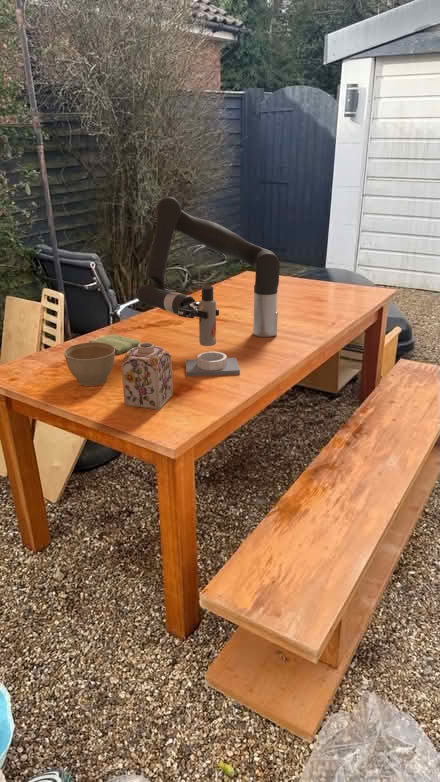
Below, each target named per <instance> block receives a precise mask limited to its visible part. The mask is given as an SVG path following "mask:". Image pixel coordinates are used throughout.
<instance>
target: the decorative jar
mask: <svg viewBox="0 0 440 782" xmlns="http://www.w3.org/2000/svg"><path fill="white" fill-rule="evenodd" d="M125 353H126V354H125V355H124V358H123V360H122V362H121V375H122V378H121V379H122V390H123V402H124V406H125V407H135V408H136V407H137V408H141V409H142V408H143V409H148V410H149V409H150V410H158V411H160V410H161V409H162V408H163V406H165V404H166V403H167V402H168V401H169V400H170V398H172V396H173V395H174V391H173V390H174V386H173V385H174V384H173V380H174V379H173V366H172V355H171V354H170V352H168V351H167V350H166V349H164V348H163V347H162V346H158V345H154V344H153V343H152V342H142V343H141V342H140V344H139V345H138V347H135V348H132V349H130V350H128V351H127V352H125Z"/></svg>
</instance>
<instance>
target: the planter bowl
mask: <svg viewBox="0 0 440 782" xmlns="http://www.w3.org/2000/svg"><path fill="white" fill-rule="evenodd" d="M63 355H64V358H65V363H66V365H67V368H68V370H69V372H70V373H71V374H72V376H73V377H74V378H75V379H76V380H77V383H78V384H79V385H81V386H85V387H95V386H100V385H103V384H105V383H106V382H107V381H108V377H109V376H110V374H111V372H112V370H113V368H114V364H115V357H116V354H115V348H114V347H113V346H112V345H110V344H107V343H101V342H89V341H88V342H82V343H77V344H72V345H71V346H69V347H66V348H65V350H64V351H63Z"/></svg>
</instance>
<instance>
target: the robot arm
mask: <svg viewBox="0 0 440 782" xmlns="http://www.w3.org/2000/svg"><path fill="white" fill-rule="evenodd" d="M153 214H154V217H155V220H156V228H155V234H154V238H153V240H152V241H153V242H152V245H151V248H150V252H149V255H148V260H147V265H146V270H145V277H146V278H147V279H148V280H150V281H151V285H150V284H142V285H140V286H139V287H138V288H137V290H136V299H137V300H138V301H139V303H141V304H144V305H147V306H150V307H155V308H159V309H160V310H163V311H166V312H169V313H170V314H173V315H177V316H178V317H181V318H189V319H194V318H198V319H199V317H200V318H204V319H208V312H203V311H199V301H196V300H195V298H194V297H193V296H190V295H187V294H184V293H180V292H174V291H170V290H166V286H165V285H166V283H165V276H166V270H167V266H168V259H169V255H170V249H171V244H172V239H173V237H174V236H173V235H174V232H175V231H177V232H179V233H181V234H184V235H186V236H187V237H190V238H191V239H193V240H195V242H196V241H197V242H198V243H200V244H201V245H204V246H206V247H207V248H209V249H212V250H214V252H215V251H216V252H218V253H220V254H223V255H226V256H228V257H232V258H236V259H238V260H240V261H242V262H244V263H246V264H248V265H249V266H251V267H252V268H253V269H255V279H254V280H255V281H254V286H253V318H252V319H253V321H252V322H253V325H252V326H253V328H252V331H253V332H252V334H253V336H256V337H259V338H270V337H273V336H278V316H279V315H278V314H279V312H278V310H277V309H278V289H279V284H280V267H281V266H280V259H279V258H278V256H277V255H276V254H275V253H274V252H273V251H271V250H269V249H266V248H263V247H261V246H258V245H257V244H254V243H251V242H250V241H247V240H246V239H244V238H243V237H241V236H240V235H238V234H237V233H235V232H233V231H231V230H230V229H228V228H226V227H225V226H223V225H221V224H219V223H216V222H214V221H210V220H207V219H203V218H199V217H195V216H193V215H191V214H189V213H187V212H185V211H184V210H182V206H181V204H180V202H179V201H178V199H176V198H175V197H173V196H166V197H164V198H161V200H159V201H158V203H157V204H156V205H155V208H154V212H153ZM218 316H220V310H219V309H218V308H216V317H218Z"/></svg>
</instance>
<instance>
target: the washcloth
mask: <svg viewBox="0 0 440 782" xmlns="http://www.w3.org/2000/svg"><path fill="white" fill-rule="evenodd" d="M88 342H101V343H107V344H110V345H112V346H113V347H114V348H115V355H120V354H123V353H127V352H128V351H129V350H130V349H132V348H135V347H138V345H139V344H140V343H141V342H140V340H138V339H136V338H130V337H127V336H121V335H118V334H109V335H104V336H99V337H97V338H95V339H90V340H88Z"/></svg>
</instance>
